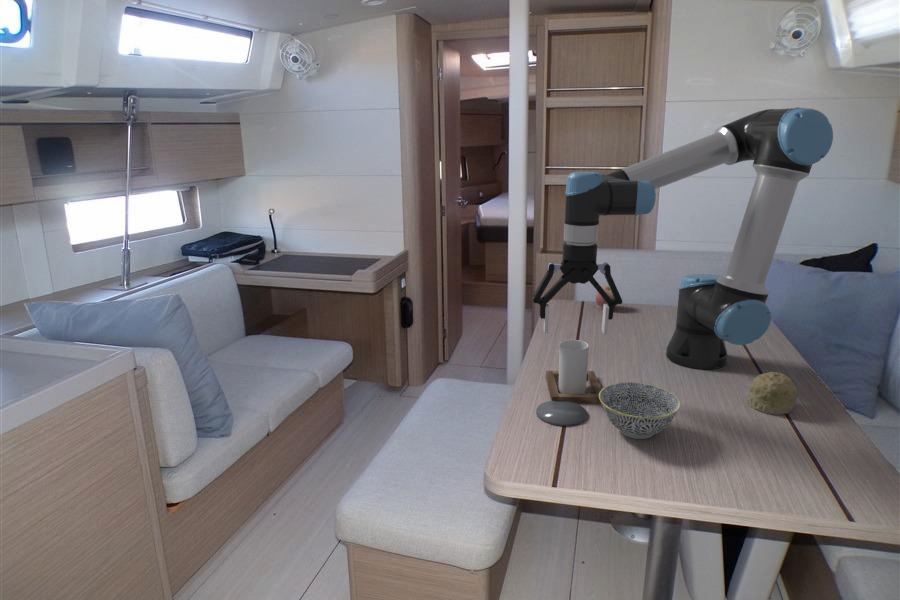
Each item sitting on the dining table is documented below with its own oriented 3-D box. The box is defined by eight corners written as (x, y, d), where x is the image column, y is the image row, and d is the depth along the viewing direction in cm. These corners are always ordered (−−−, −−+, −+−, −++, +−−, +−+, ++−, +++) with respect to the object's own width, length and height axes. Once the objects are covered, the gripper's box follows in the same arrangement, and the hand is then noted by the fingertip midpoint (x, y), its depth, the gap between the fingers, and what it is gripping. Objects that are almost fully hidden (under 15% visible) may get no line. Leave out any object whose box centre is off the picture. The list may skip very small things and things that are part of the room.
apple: (595, 311, 202) (596, 289, 200) (594, 305, 209) (595, 283, 207) (619, 312, 201) (621, 289, 199) (617, 306, 208) (619, 283, 206)
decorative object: (759, 429, 131) (792, 403, 125) (730, 391, 137) (759, 365, 130) (783, 422, 136) (816, 397, 130) (753, 386, 142) (783, 360, 135)
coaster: (582, 403, 137) (582, 400, 137) (590, 426, 126) (591, 423, 126) (534, 402, 138) (534, 400, 137) (538, 425, 127) (538, 423, 127)
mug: (582, 400, 138) (585, 351, 135) (554, 395, 141) (556, 347, 138) (591, 383, 147) (594, 337, 144) (564, 379, 150) (566, 333, 146)
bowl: (666, 459, 114) (670, 423, 112) (586, 438, 122) (588, 404, 120) (684, 424, 127) (688, 391, 125) (610, 407, 135) (612, 376, 133)
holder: (593, 376, 151) (593, 371, 151) (604, 403, 137) (605, 397, 136) (545, 376, 152) (545, 370, 151) (551, 402, 137) (552, 396, 137)
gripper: (632, 239, 137) (625, 327, 143) (523, 238, 138) (520, 325, 144) (641, 246, 130) (632, 338, 136) (525, 245, 131) (522, 336, 137)
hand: (574, 332), depth 140 cm, fingers open, 13 cm apart
